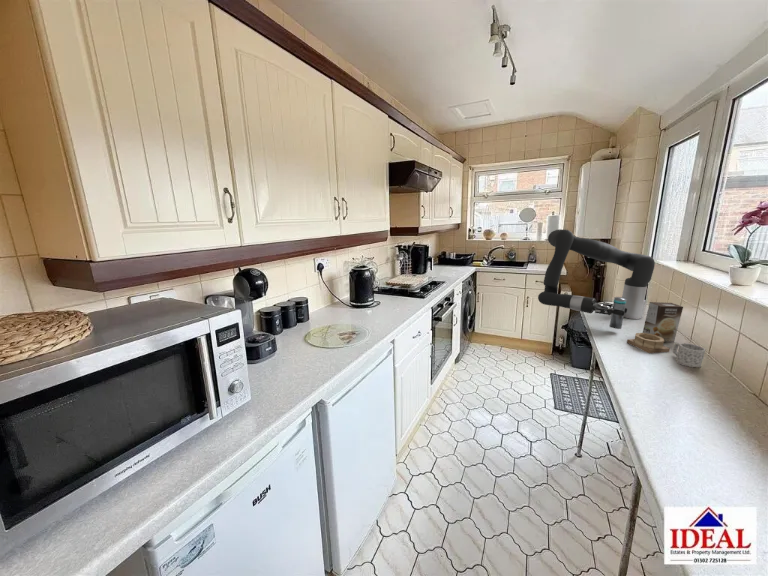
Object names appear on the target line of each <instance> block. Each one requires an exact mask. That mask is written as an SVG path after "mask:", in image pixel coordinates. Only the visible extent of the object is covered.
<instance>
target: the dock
mask: <svg viewBox="0 0 768 576" xmlns="http://www.w3.org/2000/svg"><path fill="white" fill-rule="evenodd" d="M634 335H635V336H634V338H629V339H627V340H626V344H629V345H631V346H633V347H636V348H637V349H640V350H641V351H644V352H646V353H648V354H657V353H659V354H660V353H670V351H671V350H670V349H671V348H670V347H668V346H665V344H664V343H665V341H664V339H663V338H661V337H659V336H657V335H653V334H648V333H643V332H636V333H635V334H634Z"/></svg>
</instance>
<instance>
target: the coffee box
mask: <svg viewBox="0 0 768 576" xmlns="http://www.w3.org/2000/svg"><path fill="white" fill-rule="evenodd" d="M683 310H684V306H682V305H680V304H677V303H673V302H658V301H655V302H654V301H649V304H648V309H647V313H646V317H645V321H644V326H643V329H642V333H648V334H653V335H657V336H659V337H661V338H663V339H664V342H674V343H675V340H676V337H677V332H678V329H679V325H680V324H679V323H680V321H681V317H682V313H683Z"/></svg>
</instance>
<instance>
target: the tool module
mask: <svg viewBox="0 0 768 576" xmlns="http://www.w3.org/2000/svg"><path fill="white" fill-rule="evenodd" d="M626 300H627V299H626V298H623V297H622V296H615V297H614V298H613V302H612V304H613V307H612V308H613V309H614V310H615V309H617V310H623V311H624V310H625V305H626ZM623 321H624V317H623V316H621V315H616V314H611V315H610V321H609V328H611V329H615V330H616V329H617V330H619V329H620V330H621V329H622V325H623Z"/></svg>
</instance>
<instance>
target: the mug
mask: <svg viewBox="0 0 768 576" xmlns="http://www.w3.org/2000/svg"><path fill="white" fill-rule="evenodd" d="M672 353H673V354H674V355H675V356H676V359H675V361H676V362H677V363H678V364H680V365H682V366H684V365H685V367H688V366H689V368H693V367H699V368H701V366H702V363H703V359H704V356H705V353H706V348H704V346H703V347H702V346H700V345H697V344H693V343H690V342H689V343H688V342H687V343H686V342H682V343H680V342H676V343H675V342H674V345H673V348H672Z"/></svg>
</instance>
